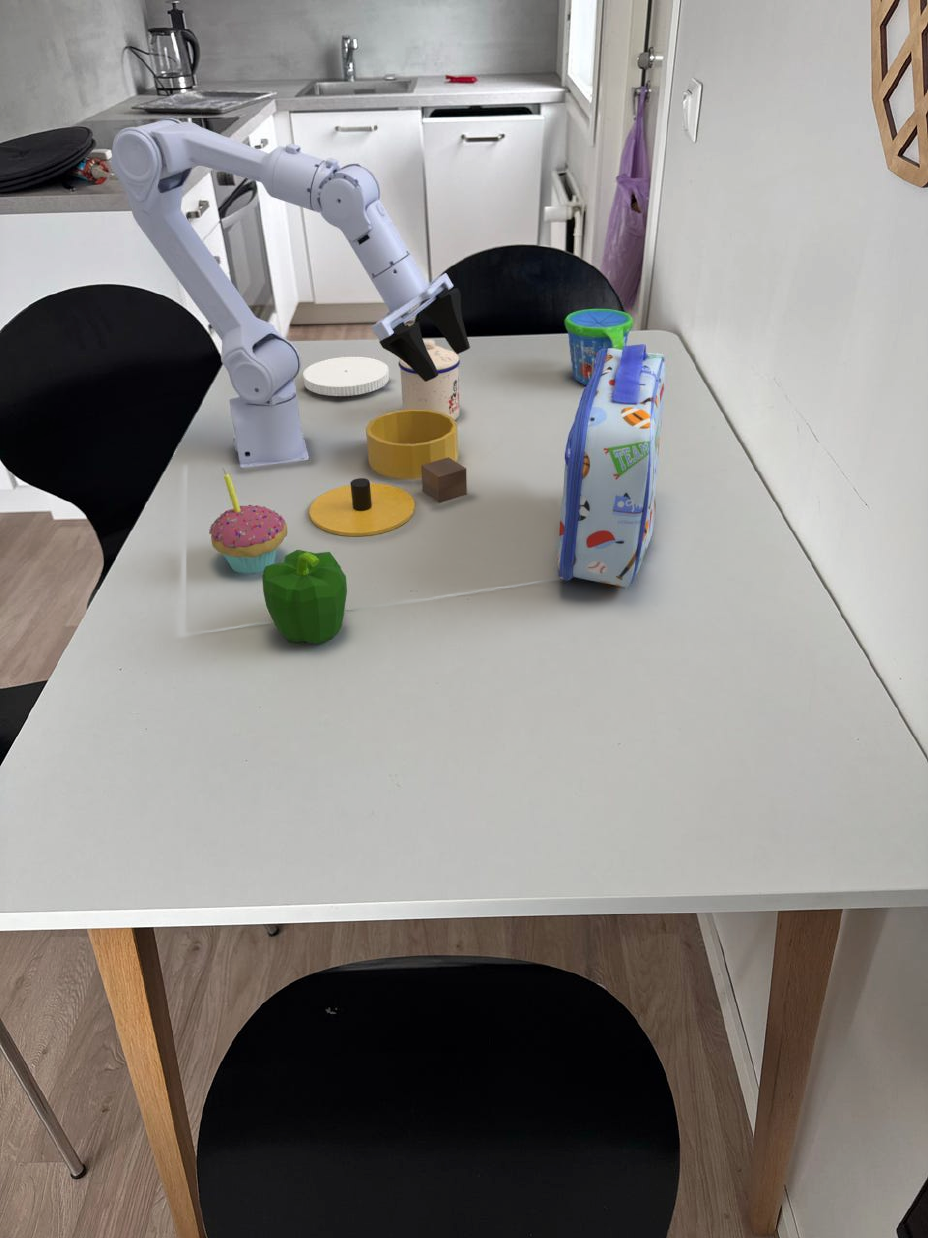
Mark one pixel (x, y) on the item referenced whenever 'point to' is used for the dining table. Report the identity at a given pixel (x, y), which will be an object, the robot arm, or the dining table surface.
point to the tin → (410, 426)
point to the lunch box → (612, 468)
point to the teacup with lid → (433, 383)
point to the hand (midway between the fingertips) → (448, 364)
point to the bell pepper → (306, 596)
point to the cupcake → (247, 534)
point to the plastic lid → (346, 376)
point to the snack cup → (594, 337)
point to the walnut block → (444, 480)
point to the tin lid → (362, 509)
